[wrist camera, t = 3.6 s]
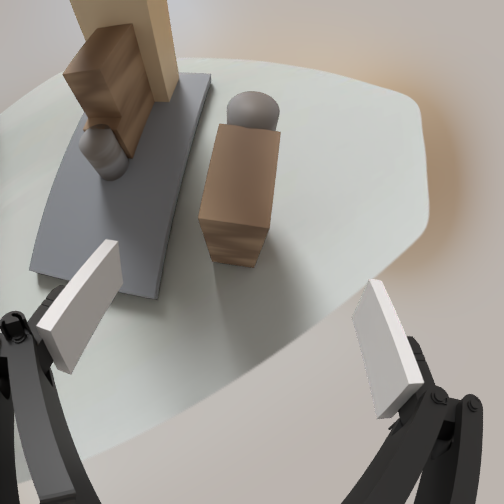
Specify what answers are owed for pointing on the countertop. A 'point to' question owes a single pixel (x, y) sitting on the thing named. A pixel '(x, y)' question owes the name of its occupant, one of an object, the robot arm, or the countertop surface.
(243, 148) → the brown wooden block
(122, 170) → the fixed leaf
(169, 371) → the countertop surface
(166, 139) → the hinge frame
